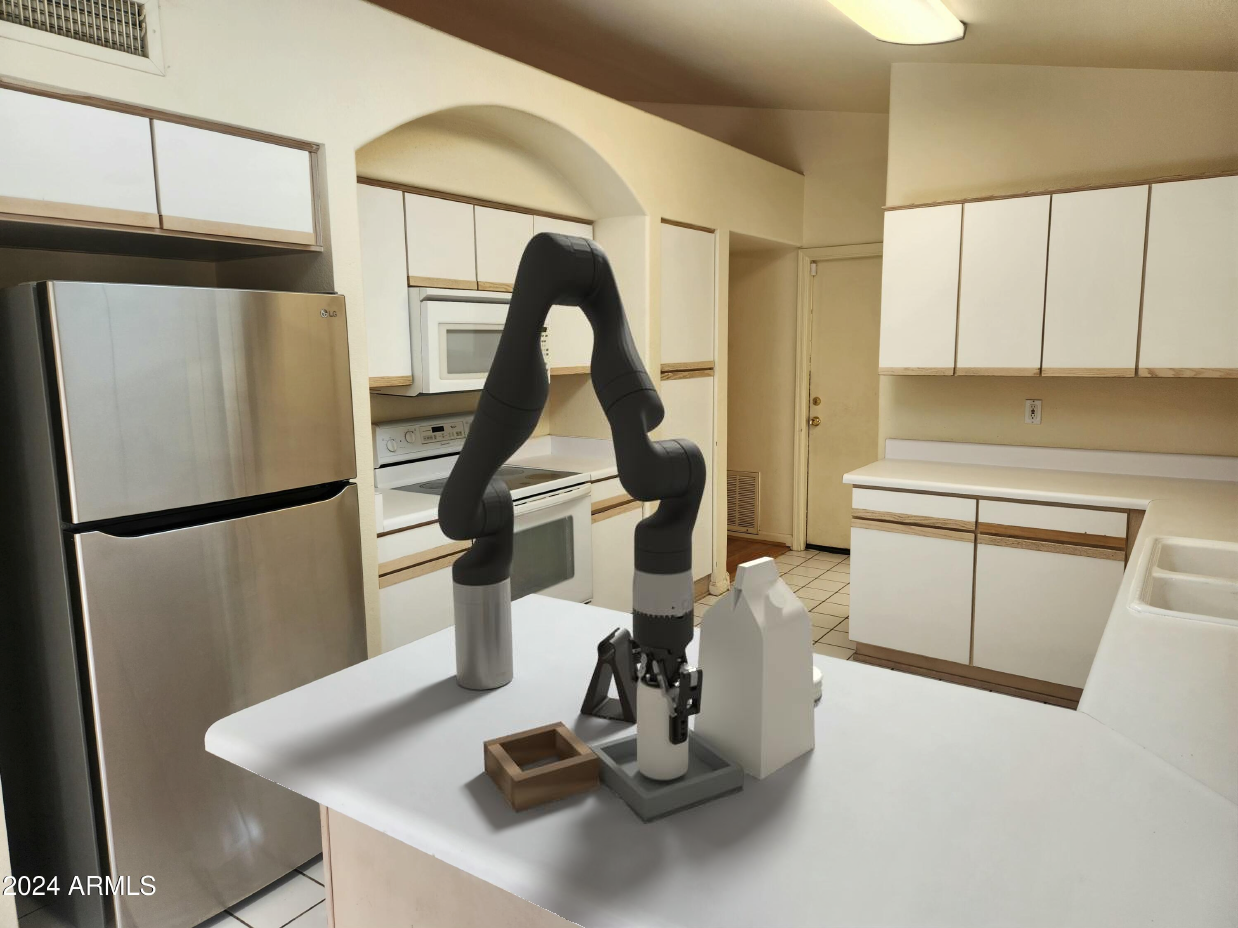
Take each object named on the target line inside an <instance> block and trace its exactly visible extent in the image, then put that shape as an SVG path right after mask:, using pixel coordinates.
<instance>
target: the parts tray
mask: <svg viewBox="0 0 1238 928" xmlns="http://www.w3.org/2000/svg"><path fill="white" fill-rule="evenodd" d="M588 748H590V749H591V750H592V751H593V752H594V753H595V754H596V755H597V756H598V757H599V780H601V781H602V782H603V783H604V784H605V785H606V787H608V788H609V789H610V790H611V791H612V792H613V793H614V794H615V796H617V798H619V799H620V800H621V801H622V802H623V803H624V804H625V805H626V806H627V807H628V808H629V809H630V811H632V813H634V814H635V815H636V816H637V817H638V818H639V819H640V820H641V821H642V822H643V823H644V824H648V823H651V822H654V821H657V820H660V819H662V818H666V817H668V816H671V815H675V814H677V813H679V812H683V811H685V810H689V809H691V808H694V807H697V806H698V807H699V806H700V805H703V804H706V803H710V802H711V801H715V800H717V799H720V798H723V797H726V796H729V795H732V794H735V793H737V792H741V791H743V790H744V787H743V786H744V784H743V783H744V774H743V773H744V771H743V767H742V766H741V765H739V764H738V763H737V762H735V761H734V760H732V759H731V758H730V757H728V756H727V755H726V754H724V753H723V752H721V751H720V750H719V749H717V748H716V747H715V746H713V745H712V744H710V743H709V742H708V741H706V740H705V739H704V738H702V737H701V736H699V735H698V734H697V733H695V732H694V729H691V728H690V727H688V769H687V771H686V772H685V773H684V775H682V776H681V777H679V778H677V779H674V780H669V781H658V780H653V779H650V778H647V777H646V776H644V775H643V774H642V773H641V772H640V771H639V769H638V766H637V733H634V734H630V735H627V736H623V737H619V738H617V739H611V740H609V741H606V742H602V743H597V744H596V745H591V746H589V747H588Z"/></svg>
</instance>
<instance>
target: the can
mask: <svg viewBox="0 0 1238 928" xmlns="http://www.w3.org/2000/svg"><path fill="white" fill-rule="evenodd" d="M647 674H649V673H647ZM640 681H641V682H640V684H639V686H638V689H637V722H636V734H637V766H638V769H639V771H640V772H641V773H642V774H643V775H644V776H646V777H647V778H650V779H653V780H658V781H669V780H674V779H677V778H679V777H681V776H682V775H684V773H685V772H686V771H687V769H688V737H687V740H686V741H685V742H684V743H680V744H677V745H673V744H672V743H671V742H670V741H669V715H670V712H669V707H668V703H667V699H666V698H664V697H663V696H662V694H661V688H660V686H659V683H658V682H657V681H655V680H652V679H651V678H650V676H647V677H646V678H644V679H643V676H641V677H640ZM679 684H680V683H679V682H678V683H677V684H674V685H670V686H668V687H669V688H670V689H676V688H679ZM678 698H679V694H678V695H675V702H676V705H678ZM689 717H690V716H688V726H689Z"/></svg>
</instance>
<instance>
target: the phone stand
mask: <svg viewBox="0 0 1238 928" xmlns="http://www.w3.org/2000/svg"><path fill="white" fill-rule="evenodd" d="M620 630H621V627H616V628H615V629H614V630H613V631H612V632H610V633H609V634H608V635H607V636H606V637H605V638H603V639H602V640H601V641H600V642H599V643H598V644H597V646H596V651H597V661H596V664H595V668H594V669H593V673H592V676H591V679H590V681H589V684H588V686H587V690H586V694H585V696H584V698H583V701H582V704H581V707H580V711H579V713H580V715H584V716H590V717H595V718H601V719H605V720H606V719H608V720H611V721H616V722H622V723H628V724H633V725H635V724H637V684H636V682H635V683H632V682H631V680H630V673H629V658H628V642H627V640H628V638H629V637H632V634H631V632H630V630H628V628H626V627H625V628H623V629H622V630H621V631H620ZM619 631H620V632H619ZM616 633H617V635H616ZM638 671H639V667H638V666H637V672H638ZM612 678H613V680H614V683H615V687H616V691H617V697H618V698H613V697H609V696H608V695H609V690H610V688H611V687H610V686H611V682H612Z"/></svg>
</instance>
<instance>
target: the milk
mask: <svg viewBox="0 0 1238 928" xmlns="http://www.w3.org/2000/svg"><path fill="white" fill-rule="evenodd" d="M698 641H699V642H698V643H699V644H698V658H697V668H698V667H700V668H701V669H702V671H703V680H702V693H701V706H700V713H699V714H694V719H693V720H694V722H693V731H694V732H695V733H697V734H698V735H699V736H701V737H702V738H704V739H705V740H706V741H708V742H709V743H710V744H712V745H713V746H715V747H716V748H717V749H719V750H720V751H721V752H723V753H724V754H726V755H727V756H728V757H730V758H731V759H732V760H734V761H735V762H737V763H738V764H739V765H741V766H742V767H743V773H745V774H748V775H750V776H752V777H754V778H756V779H758V780H763V779H764V778H766V777H767V776H769V775H771V774H772V773H774V772H776V771H777V770H779V769H781V768H782V767H784V766H787V764H789V763H790V762H793V761H794V760H796V759H797V758H798V757H800V756H803V755H804V754H805V753H807V752H809V751H810V750H813V749H814V748H815V747H816V734H815V733H816V731H815V729H816V728H815V701H814V682H813V666H814V651H813V649H814V648H813V620H812V616H811V614H810V612H809V611H808V609H807V608H806V606H805V605H804V604H803V602H802V601H801V600H800V599H799V597H798V596H797V595H796V594H795V593H794V592H793V591H792V590H791V588H790V587H789V586H788V585H787V583H786V582H785V581H784V580H783V579H782V578H781V577H780V573H779V570H778V567H777V564H776V562H775V558H773V557H769V556H763V557H760V558H757V559H753V560H750V561H747V562H744V563H739V564H738V565H737V570H736V572H735V578H734V582H733V586H732V588H731V589H729V590H728V591H727V592H726V593H725V594H723V596H721V597H720V598H719V599H718V600H717V601H715V602H714V603H713V604H712V605H710V607H709V608H707V609H706V610H705V612H704V613H703V615H702V616H701V619H700V626H699V640H698Z"/></svg>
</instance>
